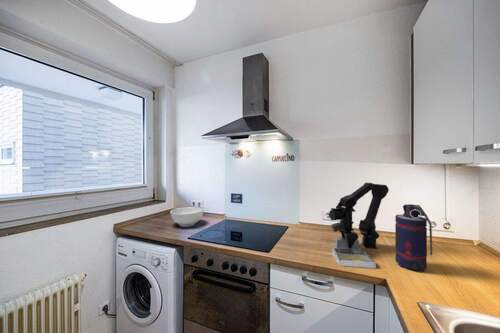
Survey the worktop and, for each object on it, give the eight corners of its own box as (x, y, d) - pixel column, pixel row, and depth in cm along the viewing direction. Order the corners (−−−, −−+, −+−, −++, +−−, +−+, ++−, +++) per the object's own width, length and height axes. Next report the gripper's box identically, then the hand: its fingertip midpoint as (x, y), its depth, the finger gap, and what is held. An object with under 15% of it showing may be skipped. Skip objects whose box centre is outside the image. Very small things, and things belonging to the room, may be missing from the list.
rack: (362, 254, 109) (362, 248, 109) (375, 268, 94) (375, 261, 94) (331, 252, 111) (331, 246, 111) (339, 265, 96) (339, 258, 96)
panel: (356, 248, 117) (356, 238, 117) (358, 251, 113) (358, 241, 113) (335, 247, 119) (335, 237, 119) (337, 249, 115) (337, 239, 115)
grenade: (393, 265, 96) (393, 204, 96) (397, 258, 104) (397, 201, 104) (431, 277, 86) (431, 209, 86) (433, 267, 95) (433, 205, 95)
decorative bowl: (162, 228, 155) (162, 212, 155) (183, 219, 181) (183, 206, 181) (192, 231, 147) (192, 215, 147) (209, 221, 173) (209, 208, 173)
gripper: (328, 214, 126) (328, 238, 126) (337, 222, 108) (337, 251, 108) (347, 215, 125) (347, 239, 125) (358, 223, 106) (358, 252, 106)
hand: (346, 245), depth 116 cm, fingers open, 9 cm apart
